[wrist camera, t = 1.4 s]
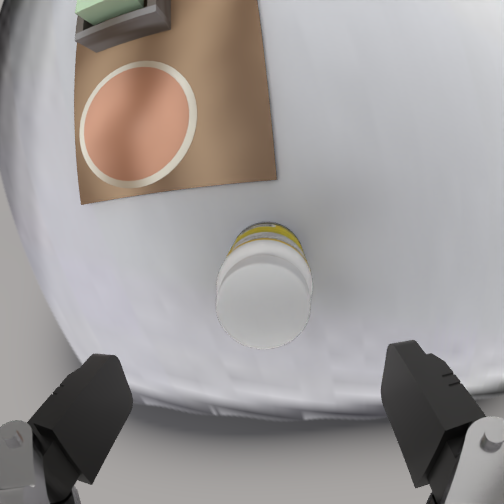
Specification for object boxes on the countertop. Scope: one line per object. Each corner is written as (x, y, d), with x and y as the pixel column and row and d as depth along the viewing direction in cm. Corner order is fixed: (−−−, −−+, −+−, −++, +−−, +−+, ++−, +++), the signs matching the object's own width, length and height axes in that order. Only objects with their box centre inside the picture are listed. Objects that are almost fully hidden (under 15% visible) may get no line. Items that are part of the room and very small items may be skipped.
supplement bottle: (277, 301, 21) (276, 374, 13) (219, 266, 21) (186, 323, 13) (316, 245, 20) (342, 293, 12) (256, 206, 20) (243, 230, 12)
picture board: (250, -46, 14) (245, -76, 11) (276, 179, 19) (277, 180, 15) (89, -4, 16) (65, -21, 12) (88, 203, 20) (56, 210, 17)
